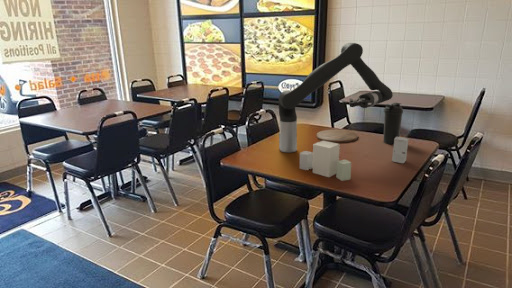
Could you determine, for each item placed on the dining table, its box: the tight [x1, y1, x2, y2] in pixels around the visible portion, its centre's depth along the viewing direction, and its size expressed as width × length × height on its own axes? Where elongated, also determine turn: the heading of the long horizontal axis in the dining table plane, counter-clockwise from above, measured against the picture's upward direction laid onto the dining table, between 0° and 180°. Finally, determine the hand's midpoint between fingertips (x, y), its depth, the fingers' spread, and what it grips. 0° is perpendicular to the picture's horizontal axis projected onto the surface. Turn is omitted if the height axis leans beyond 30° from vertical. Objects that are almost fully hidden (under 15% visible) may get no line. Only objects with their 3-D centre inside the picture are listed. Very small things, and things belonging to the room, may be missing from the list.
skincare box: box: [391, 136, 410, 164], centre depth 182 cm, size 6×4×12 cm
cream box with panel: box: [312, 140, 340, 178], centre depth 171 cm, size 8×9×14 cm
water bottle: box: [383, 102, 404, 145], centre depth 212 cm, size 10×10×23 cm
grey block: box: [299, 150, 313, 171], centre depth 178 cm, size 4×4×8 cm
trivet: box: [316, 129, 359, 144], centre depth 229 cm, size 25×25×2 cm
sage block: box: [335, 159, 352, 182], centre depth 164 cm, size 4×4×8 cm
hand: (351, 105), depth 183 cm, fingers closed
